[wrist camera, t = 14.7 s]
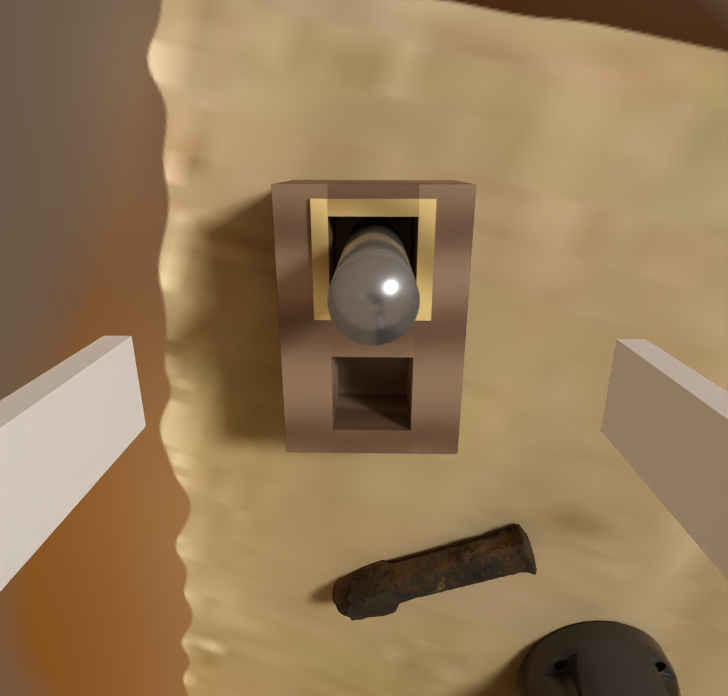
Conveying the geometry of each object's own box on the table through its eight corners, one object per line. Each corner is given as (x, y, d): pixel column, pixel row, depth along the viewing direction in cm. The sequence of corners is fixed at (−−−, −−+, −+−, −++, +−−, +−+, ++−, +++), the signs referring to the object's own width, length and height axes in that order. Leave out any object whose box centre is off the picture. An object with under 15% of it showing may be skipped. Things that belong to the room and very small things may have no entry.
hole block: (443, 404, 44) (457, 456, 36) (301, 402, 44) (285, 454, 36) (456, 180, 38) (477, 184, 30) (292, 180, 38) (270, 184, 30)
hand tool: (521, 515, 48) (535, 550, 43) (529, 549, 49) (544, 586, 44) (326, 559, 50) (321, 597, 45) (338, 590, 51) (335, 630, 47)
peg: (401, 273, 38) (418, 345, 23) (346, 273, 38) (328, 345, 23) (402, 218, 37) (421, 255, 22) (346, 217, 37) (326, 255, 22)
